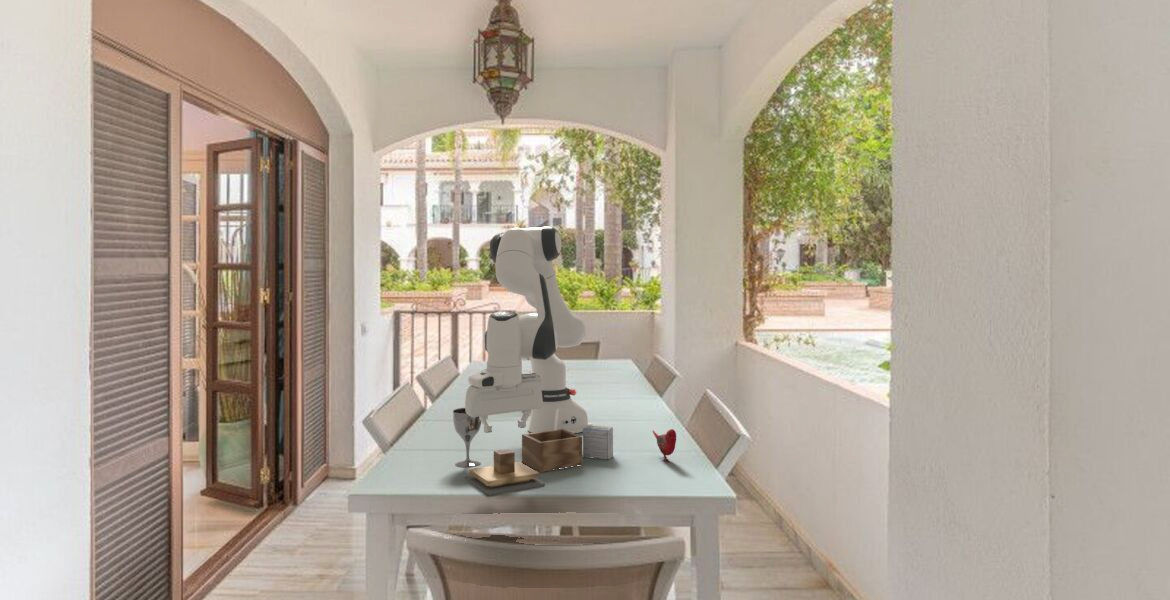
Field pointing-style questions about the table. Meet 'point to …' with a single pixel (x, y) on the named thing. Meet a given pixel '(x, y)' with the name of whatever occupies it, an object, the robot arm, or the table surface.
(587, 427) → the medicine box
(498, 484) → the lid
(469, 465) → the wine glass
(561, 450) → the storage box
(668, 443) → the decorative bird figurine
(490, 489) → the mat
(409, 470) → the table surface
